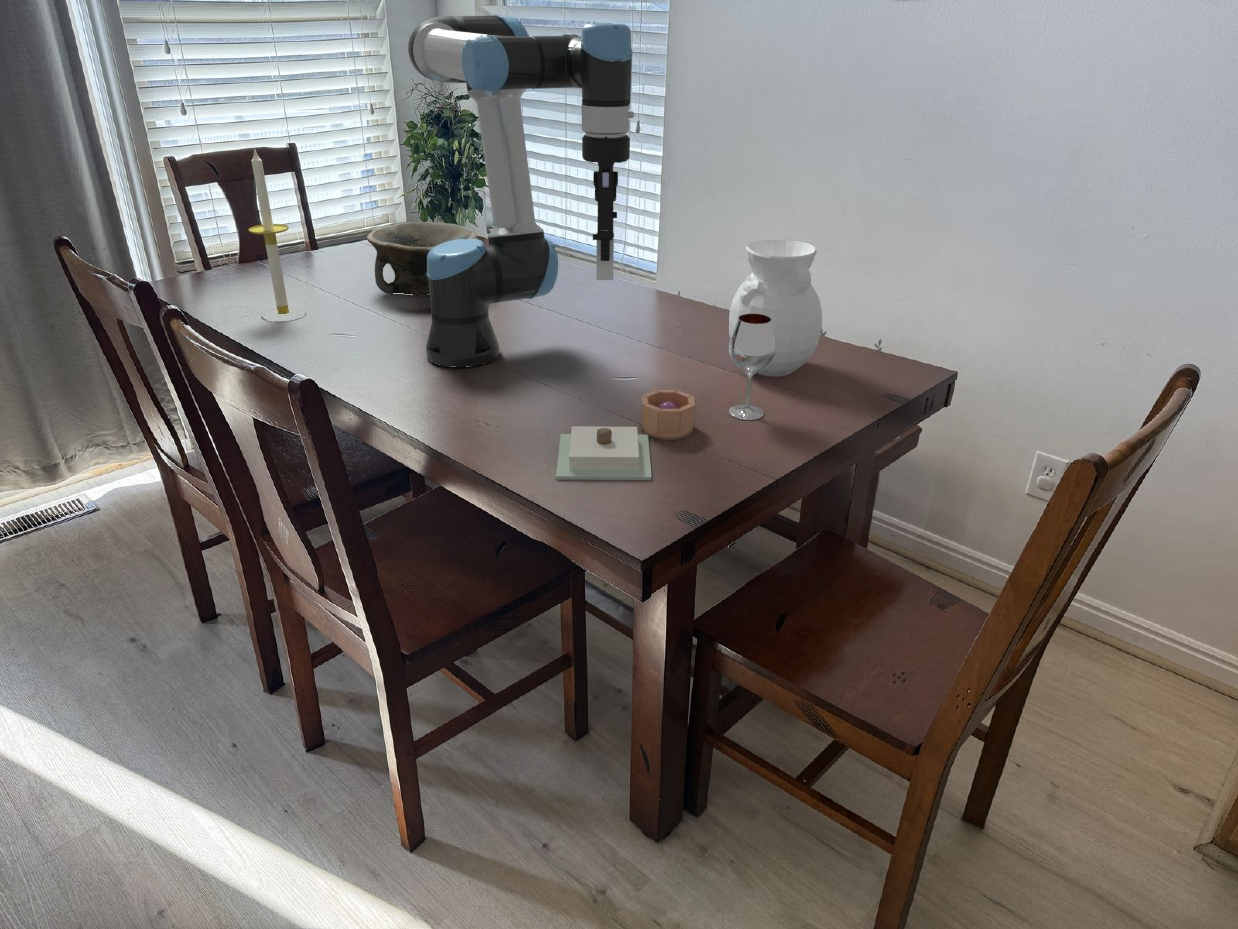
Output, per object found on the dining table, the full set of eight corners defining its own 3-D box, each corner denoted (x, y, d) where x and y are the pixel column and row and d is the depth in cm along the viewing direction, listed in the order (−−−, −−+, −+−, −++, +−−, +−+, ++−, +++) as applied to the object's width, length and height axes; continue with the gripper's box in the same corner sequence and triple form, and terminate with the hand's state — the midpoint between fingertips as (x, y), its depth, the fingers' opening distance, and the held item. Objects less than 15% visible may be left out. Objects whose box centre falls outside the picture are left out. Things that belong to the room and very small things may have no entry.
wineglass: (720, 404, 161) (727, 311, 153) (763, 403, 162) (772, 310, 153) (728, 423, 154) (736, 326, 146) (773, 421, 155) (783, 326, 146)
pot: (642, 440, 148) (643, 410, 145) (640, 417, 156) (641, 389, 153) (694, 440, 148) (696, 411, 145) (690, 418, 156) (691, 390, 153)
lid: (569, 470, 137) (568, 446, 135) (572, 439, 146) (571, 416, 144) (638, 470, 137) (639, 446, 135) (636, 439, 146) (637, 417, 144)
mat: (555, 479, 135) (555, 476, 135) (560, 437, 148) (560, 433, 148) (651, 480, 135) (651, 476, 135) (647, 437, 148) (647, 434, 148)
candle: (271, 325, 197) (239, 152, 179) (254, 314, 204) (222, 147, 186) (313, 316, 203) (286, 148, 185) (295, 306, 210) (268, 143, 192)
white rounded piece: (709, 359, 182) (716, 240, 170) (783, 347, 188) (795, 232, 176) (755, 391, 167) (767, 263, 155) (834, 378, 173) (851, 254, 161)
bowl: (501, 286, 226) (498, 229, 219) (430, 313, 206) (424, 250, 199) (425, 270, 238) (420, 215, 231) (352, 294, 219) (344, 234, 212)
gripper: (631, 146, 124) (628, 290, 134) (628, 124, 146) (626, 249, 156) (579, 145, 124) (580, 289, 134) (584, 123, 146) (584, 248, 156)
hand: (605, 268), depth 145 cm, fingers open, 13 cm apart
